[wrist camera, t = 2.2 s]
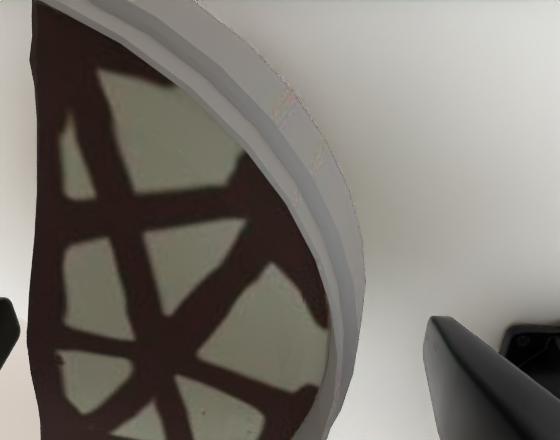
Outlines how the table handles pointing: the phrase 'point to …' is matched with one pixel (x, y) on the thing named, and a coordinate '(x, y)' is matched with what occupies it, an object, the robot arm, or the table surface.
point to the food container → (182, 235)
